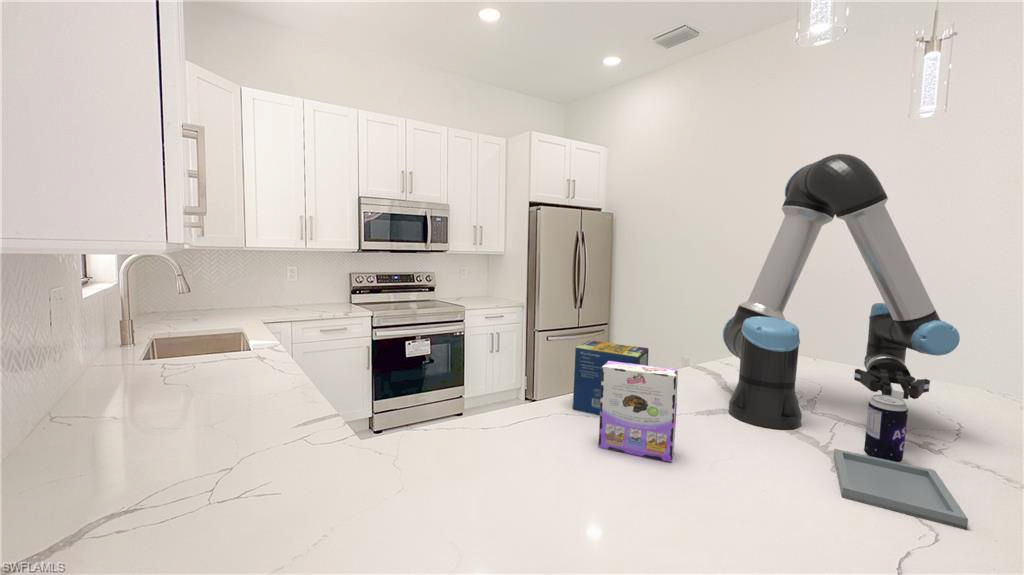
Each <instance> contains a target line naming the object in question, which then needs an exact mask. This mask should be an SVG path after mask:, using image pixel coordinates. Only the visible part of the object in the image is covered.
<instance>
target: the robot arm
mask: <svg viewBox="0 0 1024 575" xmlns="http://www.w3.org/2000/svg"><path fill="white" fill-rule="evenodd" d="M784 198H785V199H784V201H783V204H782V206H781V210H782V212H783V214H784V218H783V220H782V222H781V225H780V226H779V229H778V232H777V234H776V236H775V238H774V240H773V243H772V245H771V247H770V249H769V251H768V253H767V256H766V258H765V261H764V262H763V263H764V264H763V265H762V267H761V270H760V272H759V274H758V277H757V279H756V281H755V283H754V286H753V289H752V291H751V292H750V294H749V297H748V300H746V301H745V302H741V303H739V305H738V307H737V308H736V311H735V313H734V315H733V316H732V317H730V319H728V320H727V322H726V323H725V325H724V327H723V330H722V339H723V342H724V344H725V347H726V348H727V350H728V351H729V352H730V353H731V354H732V355H733V356H735V357H737V358H738V359H739V370H738V372H739V373H738V374H739V375H738V382H737V384H736V387H735V389H734V391H733V393H732V395H731V397H730V398H729V401H728V402H729V403H728V412H729V414H730V415H731V416H732V417H734V418H736V419H738V420H740V421H741V422H745V423H748V424H751V425H755V426H758V427H759V426H760V427H763V428H768V429H770V428H771V429H777V430H791V429H797V428H800V426H801V425H802V417H803V415H802V411H801V407H800V403H799V400H798V396H797V393H796V381H797V368H798V360H799V359H798V357H799V351H800V350H799V348H800V344H801V339H800V329H799V328H798V326H797V325H796V324H794V322H793V323H792V322H791V321H788V320H786V319H785V316H784V311H785V309H786V306H787V304H788V302H789V300H790V298H791V296H792V294H793V291H794V288H795V287H796V285H797V282H798V281H799V278H800V276H801V274H802V271H803V269H804V267H805V264H806V262H807V261H808V259H809V256H810V254H811V251H812V249H813V247H814V245H815V243H816V241H817V238H818V237H819V233H820V231H821V229H822V227H823V226H824V225H826V224H830V223H831V222H832V221H833V220H834V218H835V216H836V219H840V220H843V221H844V223H845V224H846V226H847V228H848V231H849V233H850V234H851V237H852V239H853V240H854V241H853V242H854V243H855V245H856V247H857V249H858V251H859V253H860V255H861V258H862V259H863V262H864V263H865V265H866V268H867V270H868V271H869V273H870V276H871V277H872V280H873V282H874V284H875V285H876V288H877V290H878V292H879V294H880V296H881V298H882V300H883V302H876V303H875V302H874V303H873V304H872V306H871V308H870V315H869V318H868V319H869V320H868V333H867V334H868V336H867V345H866V352H865V357H864V361H863V365H864V367H865V370H862V369H860V368H854V377H853V380H854V381H856V382H858V383H861V384H862V385H863V386H864V387H866V389H868V390H869V391H871V392H873V393H878V392H879V391H880V392H881V395H889V396H894V397H897V398H900V399H902V400H909V398H911V399H912V400H913V399H914V400H917V399H919V398H920V397H921V395H923V394H924V393H929V392H930V385H931V380H930V379H928V378H922V379H919V378H915V377H914V376H912V374H911V372H910V371H909V368H908V367H907V366H906V364H905V363H906V356H907V349H909V350H913V351H916V352H918V353H920V354H925V355H930V356H936V357H937V356H938V357H939V356H945V355H949V354H950V353H952V352H953V351H955V349H957V347H958V346H959V343H960V340H961V337H960V336H961V335H960V333H959V331H958V329H957V328H956V327H954V325H952V324H950V323H948V322H947V321H944V320H941V318H940V316H939V314H938V312H937V311H936V308H935V307H934V304H933V303H932V302H933V301H932V300H931V298H930V296H929V294H928V292H927V290H926V288H925V286H924V283H923V281H922V279H921V277H920V275H919V273H918V272H917V269H916V267H915V265H914V262H913V261H912V259H911V256H910V254H909V252H908V250H907V248H906V247H905V244H904V242H903V240H902V238H901V236H900V233H899V232H898V230H897V228H896V226H895V224H894V222H893V219H892V217H891V215H890V213H889V211H888V209H887V207H886V204H887V201H888V200H889V197H888V195H887V193H886V190H885V189H884V187H883V185H882V183H881V181H880V180H879V178H878V176H877V175H876V174H875V172H874V170H872V169H871V167H870V166H869V165H868V164H867V163H866V162H865V161H864V160H862V159H860V158H859V157H857V156H855V155H851V154H847V153H845V154H844V153H837V154H831V155H827V156H826V157H823V158H821V159H819V160H817V161H814V162H813V163H810V164H806V165H804V166H803V167H800V168H799V169H797V171H796V172H794V173H793V174H792V175H791V176H790V177H789V179H787V183H786V184H785V187H784Z"/></svg>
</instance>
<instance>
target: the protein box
mask: <svg viewBox="0 0 1024 575" xmlns="http://www.w3.org/2000/svg"><path fill="white" fill-rule="evenodd" d="M574 348H575V350H574V353H575V354H574V370H573V371H574V372H573V373H574V374H573V395H572V396H573V398H572V410H575V411H579V412H583V413H588V414H593V415H597V416H600V399H601V374H602V372H601V370H602V366H604V365H605V364H606V363H607V362H608V361H614V362H622V363H630V364H638V365H646V366H649V352H650V351H649V348H648V347H642V346H634V345H627V344H618V343H614V342H613V343H612V342H611V343H610V342H605V341H596V340H589V341H586V342H584V343H582V344H579V345H577V346H575V347H574Z"/></svg>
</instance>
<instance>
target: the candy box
mask: <svg viewBox="0 0 1024 575" xmlns="http://www.w3.org/2000/svg"><path fill="white" fill-rule="evenodd" d="M601 372H602V374H601V399H600V415H599V428H598V444H597V447H598V448H599V449H606V450H609V451H615V452H618V453H619V452H620V453H625V454H628V455H629V454H630V455H633V456H639V457H643V458H644V457H645V458H649V459H655V460H659V461H664V462H669V463H672V461H673V457H674V452H675V439H676V438H675V436H676V423H677V405H678V378H679V369H678V368H677V369H676V368H669V367H661V366H654V365H653V366H651V365H648V366H646V365H638V364H630V363H622V362H614V361H608V362H607V363H606V364H605V365H604V366H602V370H601Z"/></svg>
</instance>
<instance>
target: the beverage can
mask: <svg viewBox="0 0 1024 575" xmlns="http://www.w3.org/2000/svg"><path fill="white" fill-rule="evenodd" d="M908 414H909V409H908V407H907V402H906V400H905V399H903V400H902V399H900V398H897V397H894V396H889V395H882V394H873V395H872V396H871V398H870V400H869V401H868V406H867V416H866V427H865V437H864V438H865V439H864V449H863V450H864V453H865V454H866V456H871V457H876V458H880V459H885V460H890V461H894V462H899V463H902V461H903V459H904V453H905V452H904V451H905V442H906V432H907V425H908Z"/></svg>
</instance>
